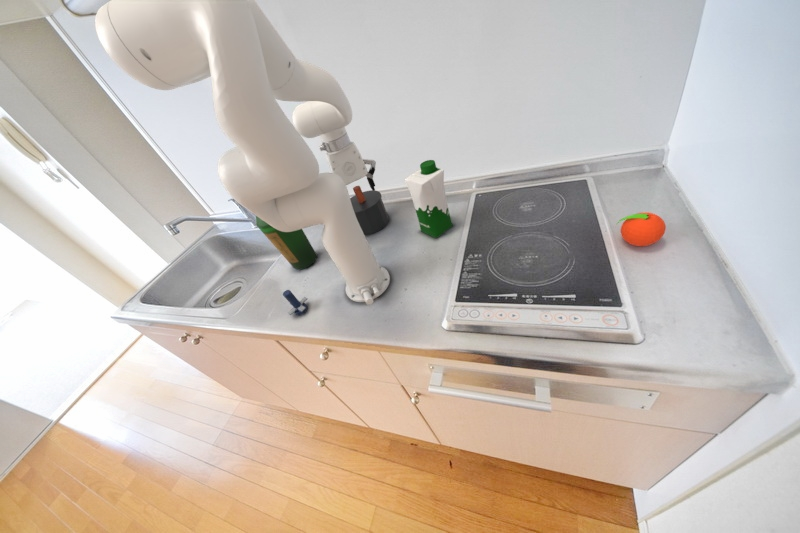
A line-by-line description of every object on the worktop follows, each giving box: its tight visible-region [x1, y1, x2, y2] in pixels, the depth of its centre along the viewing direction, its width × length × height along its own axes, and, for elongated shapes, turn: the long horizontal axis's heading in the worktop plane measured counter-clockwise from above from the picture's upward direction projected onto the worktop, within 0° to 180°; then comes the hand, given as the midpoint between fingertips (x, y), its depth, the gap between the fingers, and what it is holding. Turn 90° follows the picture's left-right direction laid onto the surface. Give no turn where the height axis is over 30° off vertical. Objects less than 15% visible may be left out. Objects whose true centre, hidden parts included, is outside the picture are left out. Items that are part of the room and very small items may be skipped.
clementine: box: [617, 212, 666, 247], centre depth 56 cm, size 8×7×7 cm
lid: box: [350, 185, 382, 214], centre depth 88 cm, size 13×13×6 cm
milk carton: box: [404, 159, 453, 239], centre depth 76 cm, size 9×9×20 cm
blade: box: [282, 289, 309, 316], centre depth 71 cm, size 6×6×8 cm
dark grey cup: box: [355, 198, 390, 236], centre depth 92 cm, size 12×12×9 cm
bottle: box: [255, 215, 318, 271], centre depth 81 cm, size 11×11×28 cm
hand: (359, 195), depth 88 cm, fingers open, 9 cm apart
